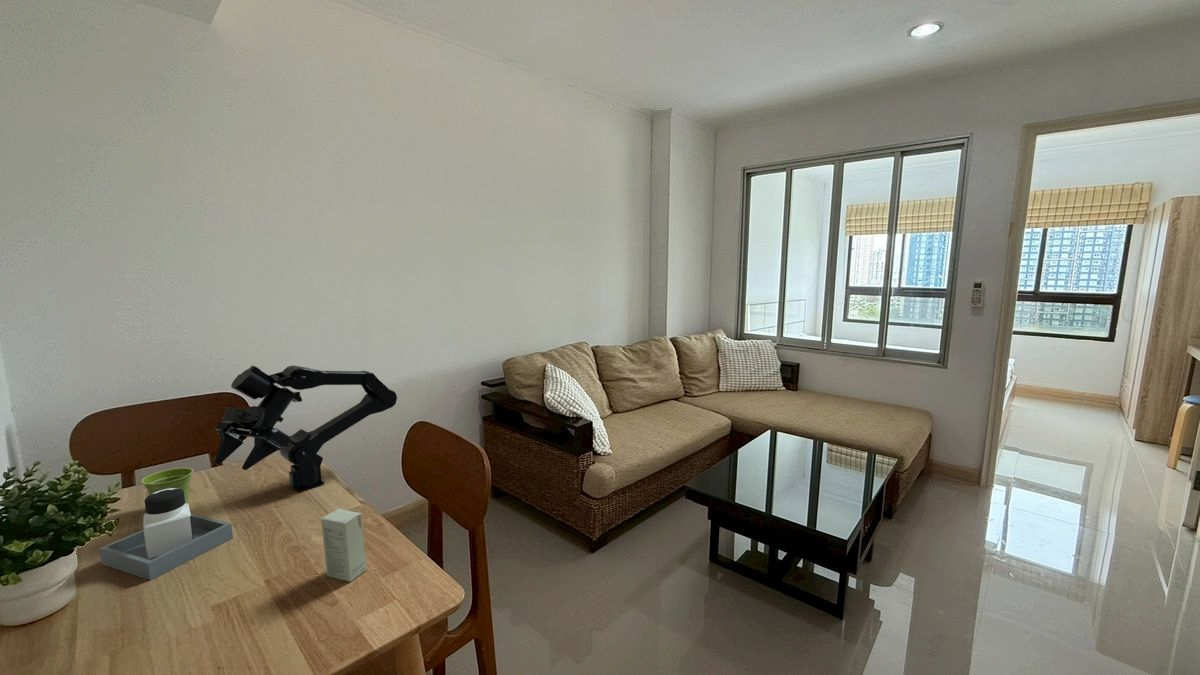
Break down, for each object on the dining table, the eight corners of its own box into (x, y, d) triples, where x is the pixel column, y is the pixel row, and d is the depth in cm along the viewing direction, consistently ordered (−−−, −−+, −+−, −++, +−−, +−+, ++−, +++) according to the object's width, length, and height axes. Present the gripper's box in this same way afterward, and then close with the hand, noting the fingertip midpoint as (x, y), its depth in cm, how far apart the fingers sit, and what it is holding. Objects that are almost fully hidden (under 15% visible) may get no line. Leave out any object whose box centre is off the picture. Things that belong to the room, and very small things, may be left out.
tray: (187, 525, 108) (185, 511, 107) (232, 538, 103) (231, 523, 102) (101, 564, 93) (99, 548, 93) (150, 580, 89) (147, 563, 88)
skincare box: (368, 569, 93) (364, 512, 91) (350, 583, 89) (345, 523, 87) (343, 562, 95) (339, 506, 93) (324, 575, 91) (320, 517, 89)
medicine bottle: (194, 546, 98) (188, 492, 96) (147, 560, 93) (139, 504, 91) (192, 532, 103) (185, 481, 101) (147, 545, 98) (140, 492, 97)
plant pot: (156, 503, 118) (152, 470, 116) (203, 496, 121) (199, 465, 120) (137, 521, 109) (132, 486, 108) (188, 513, 113) (184, 480, 112)
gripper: (219, 389, 116) (172, 447, 107) (274, 396, 110) (229, 458, 101) (254, 410, 124) (213, 466, 115) (306, 418, 118) (268, 477, 110)
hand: (229, 466), depth 110 cm, fingers open, 9 cm apart
